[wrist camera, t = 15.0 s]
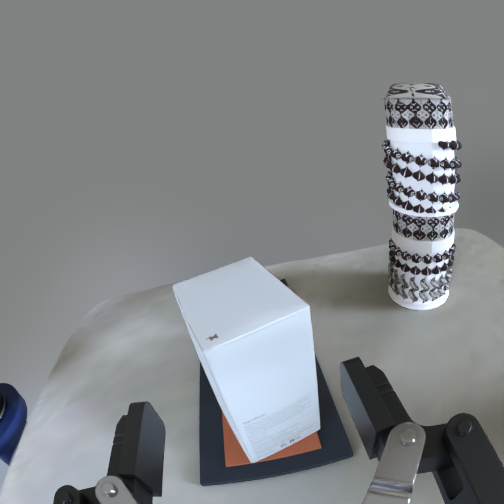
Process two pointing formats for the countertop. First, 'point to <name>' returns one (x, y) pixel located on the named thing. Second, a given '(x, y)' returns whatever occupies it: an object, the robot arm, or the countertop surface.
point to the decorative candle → (421, 193)
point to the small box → (254, 353)
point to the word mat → (282, 462)
